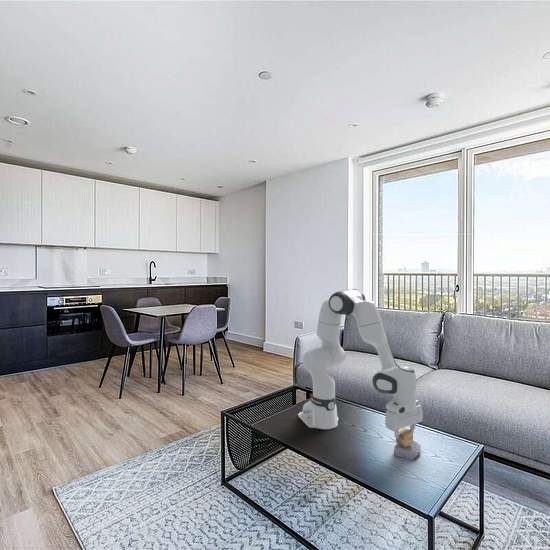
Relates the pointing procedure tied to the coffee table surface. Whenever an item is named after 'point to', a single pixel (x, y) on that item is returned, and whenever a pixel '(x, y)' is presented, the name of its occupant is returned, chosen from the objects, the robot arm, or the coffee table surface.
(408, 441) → the oak cube
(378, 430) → the coffee table surface
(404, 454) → the stone block
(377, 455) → the coffee table surface
